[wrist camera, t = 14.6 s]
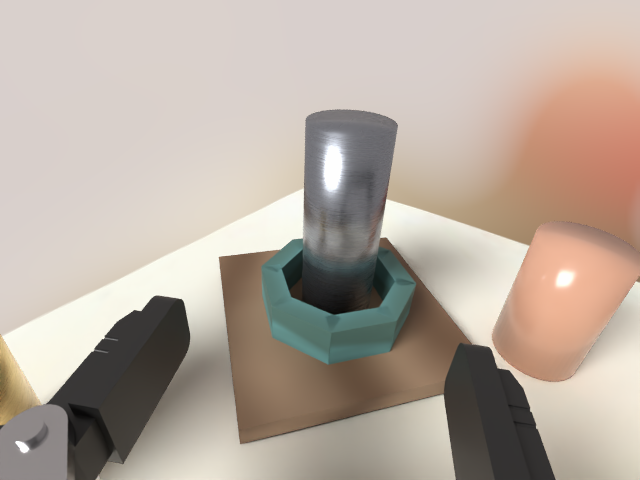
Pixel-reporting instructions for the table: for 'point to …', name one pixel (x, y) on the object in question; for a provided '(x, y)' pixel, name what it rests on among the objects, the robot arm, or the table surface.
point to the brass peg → (13, 387)
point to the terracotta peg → (563, 298)
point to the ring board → (312, 383)
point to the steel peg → (344, 206)
